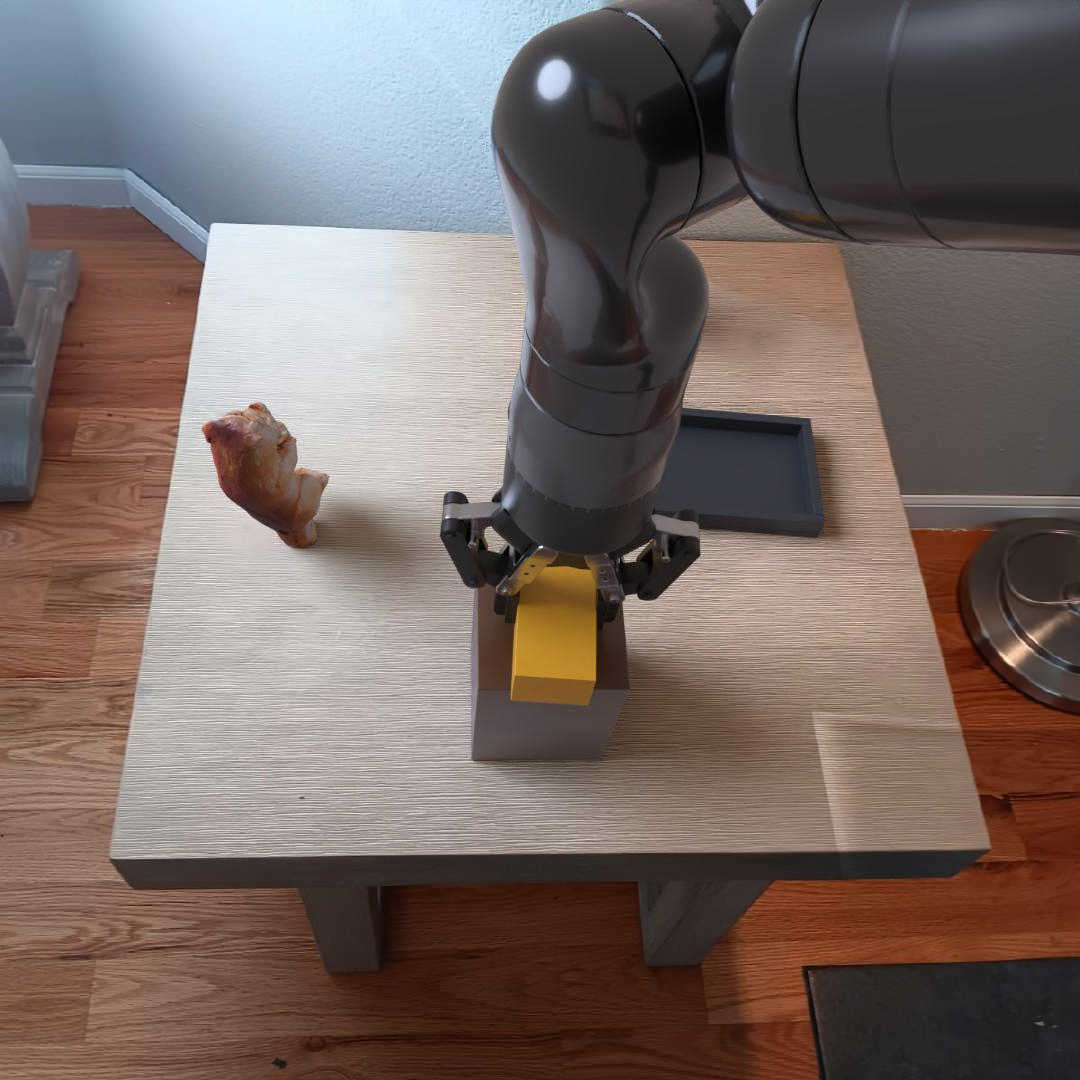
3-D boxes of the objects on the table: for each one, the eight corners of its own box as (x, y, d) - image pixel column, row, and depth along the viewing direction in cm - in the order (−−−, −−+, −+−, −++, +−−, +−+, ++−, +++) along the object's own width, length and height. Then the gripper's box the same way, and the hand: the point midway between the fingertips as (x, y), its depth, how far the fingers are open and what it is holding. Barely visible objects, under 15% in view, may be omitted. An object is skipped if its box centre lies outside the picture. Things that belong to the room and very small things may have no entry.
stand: (593, 642, 74) (618, 558, 64) (602, 759, 69) (630, 689, 59) (471, 641, 73) (476, 556, 63) (471, 760, 69) (477, 689, 58)
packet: (588, 705, 58) (596, 680, 55) (510, 700, 58) (514, 675, 55) (589, 544, 64) (596, 514, 61) (518, 539, 64) (522, 508, 61)
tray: (817, 537, 81) (825, 523, 79) (611, 522, 80) (615, 507, 78) (802, 433, 86) (810, 418, 85) (611, 417, 86) (615, 401, 84)
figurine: (339, 499, 79) (321, 371, 66) (309, 582, 75) (283, 461, 62) (263, 483, 79) (230, 352, 66) (229, 565, 75) (186, 441, 62)
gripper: (424, 492, 43) (428, 662, 58) (750, 517, 44) (673, 678, 59) (439, 362, 47) (439, 551, 62) (738, 386, 48) (669, 567, 63)
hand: (553, 612), depth 60 cm, fingers closed on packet, 4 cm apart
